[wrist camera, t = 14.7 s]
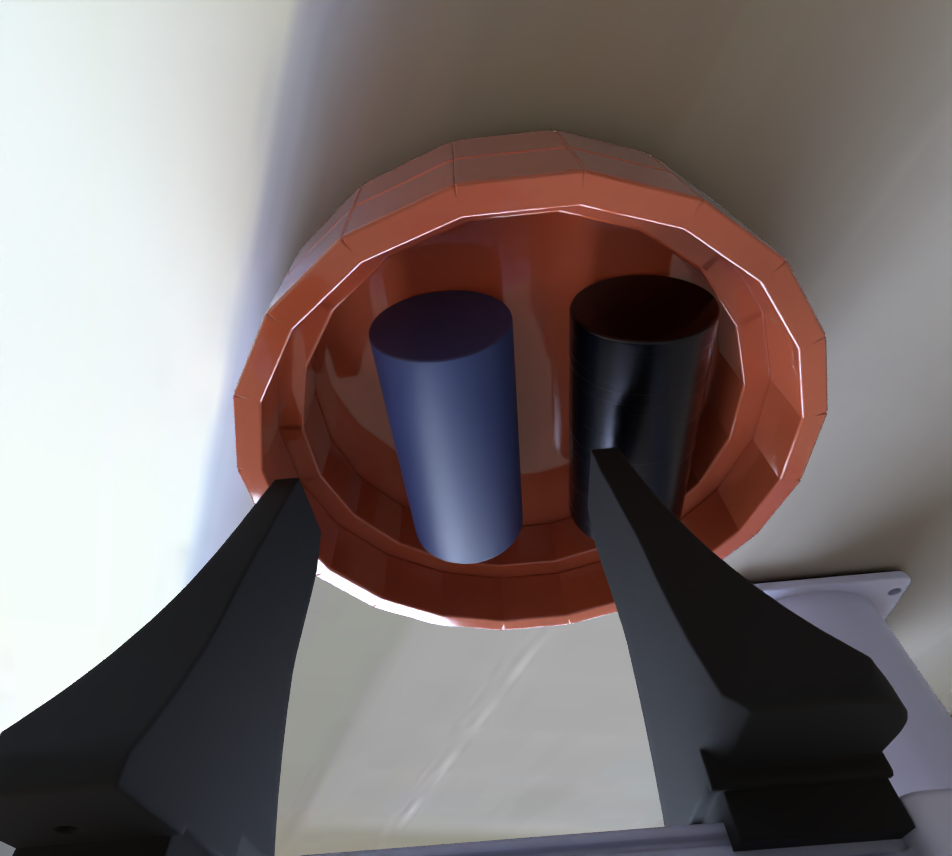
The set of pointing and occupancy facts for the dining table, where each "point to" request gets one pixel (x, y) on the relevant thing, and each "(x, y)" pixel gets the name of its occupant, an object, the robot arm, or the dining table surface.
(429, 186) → the bowl
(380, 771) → the dining table surface
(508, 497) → the navy tube
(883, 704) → the robot arm
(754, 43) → the dining table surface
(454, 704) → the dining table surface
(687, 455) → the black cylinder
